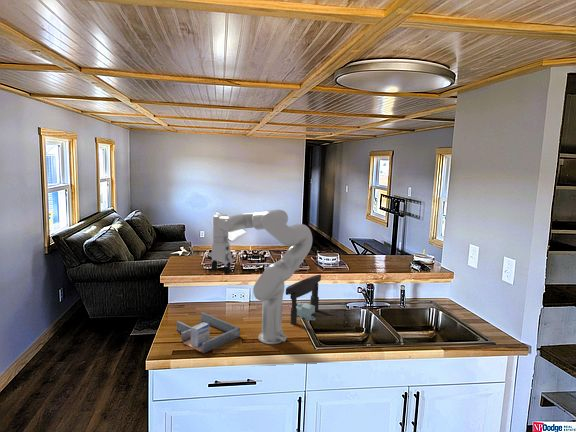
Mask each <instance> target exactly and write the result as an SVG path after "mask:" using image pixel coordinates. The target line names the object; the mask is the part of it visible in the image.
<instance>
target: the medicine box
mask: <svg viewBox="0 0 576 432" xmlns="http://www.w3.org/2000/svg"><path fill="white" fill-rule="evenodd" d="M210 336H211V335H210V325H209V324H208V323H205V322H202V321H201V322H200V323H199V324H196V325H194V326H191V345H193V346H196V347H199V346H201V345H202V343H203V342H205V341H207V340H210V339H211V338H210Z"/></svg>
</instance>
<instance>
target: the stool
mask: <svg viewBox="0 0 576 432" xmlns="http://www.w3.org/2000/svg"><path fill="white" fill-rule="evenodd" d="M321 280H322V275H321V274H317V275H313V276H310V277H307V278H304V279H302V280H300V281H297V282H295V283H293V284H291V285H288V286H287V287H285V295H286V296H287V295H289V296H290V300H291V309H290V324H292V325H296V324H297V320H298V319H297V317H300V319H305V320H306V321H308V320H309V321H315V320H316V316H317V313H315V312H318V311H319V302H320V297H319V282H321ZM309 293H311V295H310V303H306V302H304V303H301V302H298V303H297V299H298V298H300V297H302V296H304V295H307V294H309Z"/></svg>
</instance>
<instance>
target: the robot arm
mask: <svg viewBox="0 0 576 432" xmlns="http://www.w3.org/2000/svg"><path fill="white" fill-rule="evenodd" d="M288 220H289V216H288V213H287V212H286V211H285V210H282V209H268V210H261V211H255V212H249V213H239V214H235V215H230V216H228V215H227V214H223V213H219V214H217V213H216V214H214V215H213V217H212V221H213V222H212V240H213V241H212V243H211V244H212V245H211V252H208V257H209V260H210V263H211V271H213V272H214V271H216V270H218V262H219V263H223V264H224V269H223V270H224V275H230V274H231V266H232V265H233V262H234V258H233V257H232V252H231V244H230V242H229V233H231V232H236V231H240V230H245V229H251V228H252V229H253V228H254V229H255V230H257V231H258V230H259V231H260V230H265V231H266V232H267V233H268V234H270V235H271V236H272V237H273V238H274V239H275V240H277V241H278V242H279V243H280V244H281V245H283V246H286V247H288V249H287V250H286V251H285V253H284V254H283V256H282V257H281V258H280V259H279V260H278V261H275V262H274V263H270V264H269V265H268V266H267V267H266V268H265V269H264V271H263V272H262V273H261V275H260V276H259V277H258V279H257V280H256V281H255V283H254V284H253V285H254V286H253V288H252V292H253V293H252V294H253V296H254V297H255V299H256V300H258V301H261V302H262V303H261V304H262V305H261V306H262V307H261V308H262V309H261V310H262V311H261V332H260V333H259V334H258V340H259V341H260V342H261V343H262V344H266V345H277V344H280V343H284V342H286V340H287V338H288V336H287V335H285V334H284V330H282V326H283V325H282V323H283V299H284V294H285V293H284V292H285V282H286V281H287V280H289V279H291V278H292V276H293V275H294V273H295V272H296V271H297V269H298V268H299V267H300V265H301V264H302V263H303V261H304V260H305V259H306V257H307V255H308V254H309V253H310V251H311V249H312V245H313V234H312V231H311V229H310V227H308V225H306V224H304V223H297V224H293V225H288V224H287V223H288Z"/></svg>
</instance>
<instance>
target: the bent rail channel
mask: <svg viewBox="0 0 576 432" xmlns="http://www.w3.org/2000/svg"><path fill="white" fill-rule="evenodd" d="M200 322H201V323H202V322H205V323H208V324H209V326H211V327H214V328H216V329H219V330H221V331H222V332H223V333H222V334H219V335H217V336H215V337H212V338H210V340H207V341H205V342H203V343H202V352H201V353H203V354H205V353H207V352H209V351H211V350H213V349H216V348H218V347H221V346H222V345H225V344H227V343H228V342H231V341H233V340H236V339H238V338H240V337H241V327H239V326H237V325H234V324H232V323H231V322H228V321H225V320H222V319H220V318H217V317H215V316H213V315H211V314H209V313H206V312H204V311H203V312H200ZM191 327H192V326H191V325H188V324H186V323H184V322H182V321H180V320H177V321H176V331H177V332H180V335H181V336H180V341H181V343H183V342H186V341H188V340H190V339H191Z"/></svg>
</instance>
